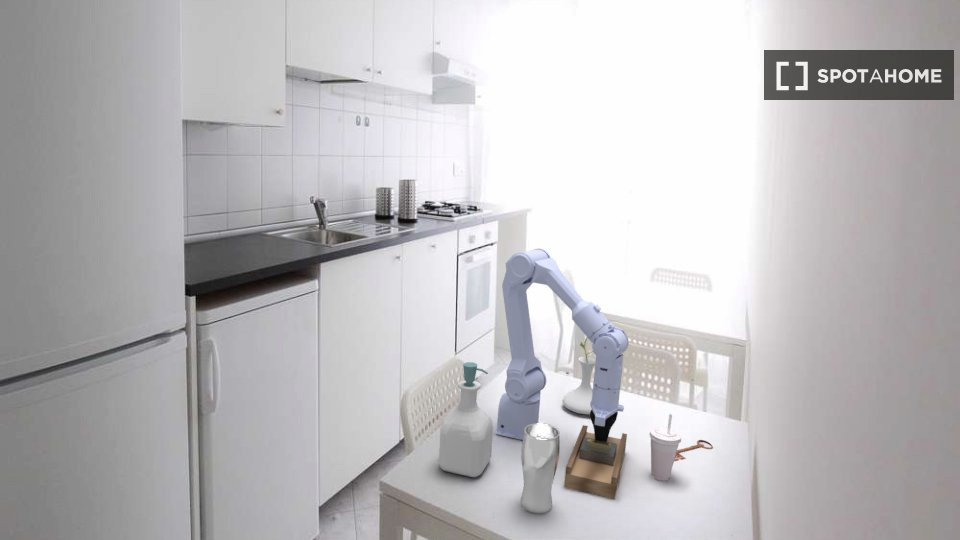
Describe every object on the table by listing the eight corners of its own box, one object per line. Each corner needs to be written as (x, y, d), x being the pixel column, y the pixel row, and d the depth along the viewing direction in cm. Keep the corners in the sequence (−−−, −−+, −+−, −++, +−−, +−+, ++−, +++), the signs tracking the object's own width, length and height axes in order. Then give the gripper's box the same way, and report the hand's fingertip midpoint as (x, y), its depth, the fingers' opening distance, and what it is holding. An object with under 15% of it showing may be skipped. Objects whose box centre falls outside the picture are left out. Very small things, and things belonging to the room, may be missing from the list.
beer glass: (515, 493, 111) (520, 422, 108) (550, 493, 112) (556, 422, 109) (520, 515, 104) (526, 439, 102) (558, 515, 105) (564, 440, 102)
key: (675, 467, 126) (722, 454, 133) (676, 463, 126) (723, 450, 133) (656, 452, 131) (702, 440, 138) (657, 449, 131) (703, 437, 137)
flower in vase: (609, 419, 146) (618, 326, 141) (564, 417, 146) (573, 323, 141) (599, 399, 159) (608, 312, 154) (558, 396, 159) (565, 310, 154)
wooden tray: (564, 486, 114) (565, 466, 114) (581, 443, 133) (582, 425, 132) (614, 499, 111) (616, 478, 110) (625, 452, 130) (627, 434, 129)
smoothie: (678, 486, 117) (686, 422, 114) (645, 481, 118) (653, 418, 115) (674, 470, 123) (681, 409, 120) (643, 465, 124) (650, 405, 122)
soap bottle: (479, 482, 114) (485, 375, 110) (435, 472, 117) (439, 367, 113) (493, 460, 123) (499, 360, 119) (452, 451, 126) (456, 353, 122)
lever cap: (579, 458, 120) (580, 444, 119) (583, 445, 125) (585, 432, 125) (612, 465, 118) (614, 452, 117) (616, 452, 123) (617, 439, 123)
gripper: (622, 400, 114) (615, 462, 117) (628, 376, 128) (622, 432, 130) (587, 394, 117) (581, 455, 119) (597, 371, 130) (591, 426, 133)
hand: (600, 443), depth 125 cm, fingers closed
